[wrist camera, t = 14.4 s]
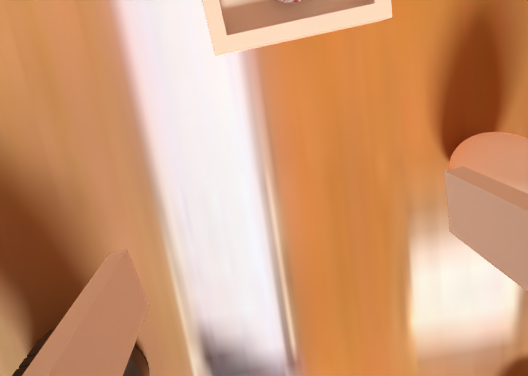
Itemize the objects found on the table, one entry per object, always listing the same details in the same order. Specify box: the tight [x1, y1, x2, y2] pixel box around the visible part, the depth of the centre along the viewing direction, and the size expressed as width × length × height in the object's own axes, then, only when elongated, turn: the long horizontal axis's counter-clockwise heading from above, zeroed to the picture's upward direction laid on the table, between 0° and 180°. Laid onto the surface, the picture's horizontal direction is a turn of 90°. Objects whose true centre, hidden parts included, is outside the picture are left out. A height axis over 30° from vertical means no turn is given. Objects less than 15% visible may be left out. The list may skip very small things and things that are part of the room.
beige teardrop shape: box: [449, 132, 528, 194], centre depth 34 cm, size 8×8×18 cm
